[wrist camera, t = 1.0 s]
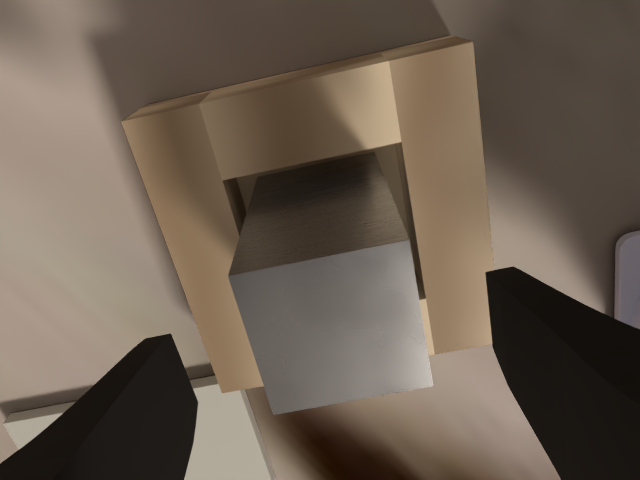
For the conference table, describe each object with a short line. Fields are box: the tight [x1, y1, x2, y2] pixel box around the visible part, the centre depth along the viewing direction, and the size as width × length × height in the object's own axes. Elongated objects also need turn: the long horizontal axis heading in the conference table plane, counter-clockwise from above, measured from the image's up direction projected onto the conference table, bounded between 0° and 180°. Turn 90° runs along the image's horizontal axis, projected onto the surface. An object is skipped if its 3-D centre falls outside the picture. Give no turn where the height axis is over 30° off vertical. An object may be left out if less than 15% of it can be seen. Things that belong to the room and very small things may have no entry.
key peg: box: [228, 152, 433, 415], centre depth 16 cm, size 4×4×7 cm
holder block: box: [121, 35, 494, 393], centre depth 18 cm, size 10×10×2 cm
